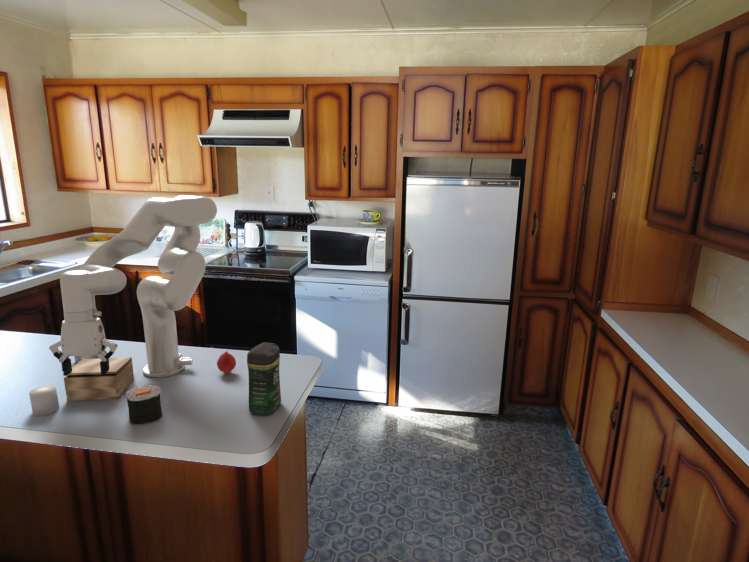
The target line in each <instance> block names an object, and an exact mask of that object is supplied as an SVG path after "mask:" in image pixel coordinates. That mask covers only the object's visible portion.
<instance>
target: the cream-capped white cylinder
mask: <svg viewBox="0 0 749 562" xmlns="http://www.w3.org/2000/svg"><path fill="white" fill-rule="evenodd" d="M28 395H29V399H30V405H31V412H32V415H33V414H34V415H33V416H35V415H37V416H36V417H42V416H41V415H44V416H47V414H49V415H51V414H54V413H55V411H56V412H57V411H58V410H59V409H60V403H59V396H58V391H57V386H56V385H51V384H50V385H49V384H48V385H42V386H39V387H35V388H33V389H31V390H30V391H29V394H28ZM53 412H54V413H53Z"/></svg>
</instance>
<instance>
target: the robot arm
mask: <svg viewBox="0 0 749 562" xmlns="http://www.w3.org/2000/svg"><path fill="white" fill-rule="evenodd" d="M217 213H218V208H217V204H216V202H215V201H214V200H213V199H212V198H210V197H208V196H205V195H204V196H201V195H191V194H190V195H188V194H181V195H177V196H175V197H174V198H169V197H159V196H158V197H157V196H156V197H151V198H149V199H147V200H146V201H145V202H144V203H143V204H142V205H141V206H140V208H139V209H138V210H137V212H136V213H135V215H134V216H133V217H131V219H130V221H129V222H128V223H127V225H126V226H125V227H124V228H123V229H122V231H120V232H119V233H117V234H116V235H115V236H113V237H111V238H110V239H109V240H107V241H105V242H104V243H103V244H101V245H99V247H97V248H96V249H95V250H94V251H93V252H92V253H90V255H89V256H88V258H87V259H86V260H85V262H84V263H83V265H82V266H81V268H80V269H75V270H74V269H73V270H67V271H65V272H62V273H61V274H60V277H59V283H60V293H61V300H62V301H61V302H62V308H63V310H62V311H63V319H64V320H62V322H61V328H60V329H61V331H60V341H59V340H58V341H57V342H55V343H53V344H51V345H50V346H49V347H48V349H49V350H50V351H51V353H52V354H53V357H55V358H56V359H58V362H59V363H61V372H63V373H64V375H63V376H64V377H66V376H67V375H68V374H70V373H71V372H72V367H73V366H72V365H73V364H72V359H71V358H70V357H74V356H95V355H96V356H98V357H97V358H100V359H101V360H102V361H101V362H100V369H101V375H105V374H106V373H107V371H108V370H109V358H112V356H113V355H114V354H115V352H116V351H117V349H118V344H117V343H115V342H113V341H110V340H108V339H107V338H106V333H105V328H104V325H103V321H102V320H101V318H100V317H101V316H102V310H101V311H100V310H97V307H96V298H95V296H98V295H99V296H101V295H102V296H103V295H113V294H117V293H120V292H121V291H122V290H124V288H125V287H126V285H127V277H126V275H125V273H124V272H123V271H122V270H120V269H118V268H115V265H117V264H118V263H119V262H121V261H122V260H124V259H126V258H129V257H131V256H134V255H137V254H140V253H142V252H145V251H147V250H149V248H150V247H151V246H152V244H153V242H154V241H155V240H156V238H158V236H159V235H160V234H161V232H162V230H163V229H164V228H165V227H174V231H173V233H172V235H171V237H170V238H169V239H170V240H169V241H168V242H167V244H166V246H165V247H164V249H163V251H162V252H161V253H160V256H159V259H158V260H157V268H158V270H159V271H160V272H161V274H164V275H165V276H168V277H171V278H168V277H164V276H159V275H150V276H147V277H144V278H143V279H142V280H140V282H139V283H138V284H137V287H136V297H137V301H138V304H139V307H140V310H141V311H140V312H141V315H142V323H143V331H144V332H143V333H144V334H143V335H144V341H145V342H144V343H145V351H146V360H147V361H146V362H147V364H146V365H145V366H144V367H143V368H142V373H143V374H144V375H145V376H146V377H149V378H165V377H170V376H171V377H172V376H174V375H176V374H179V373H180V372H181V371H182V372H183V370H184V369H185V366H192V365H193V359H192V358H191V356H190V357H189V356H186V357H184V356H182V352H179V344H178V342H179V341H178V333H177V321H176V319H177V318H176V314H175V312H176V311H180V310H182V309H184V308H185V307H186V306H187V305H188V304H189V302H190V301H191V299H192V297H193V296H194V294H195V292H196V290H197V288H198V286H199V285H200V282H201V280H202V279H203V276H204V275H205V271H206V267H207V266H206V260H205V257H204V255H203V254H202V253H200V252H198V251H197V249H198V246H199V244H200V241H201V232H200V227H199V225H202V224H203V225H204V224H209V223H210V222H212V221H213V220H214V219H215V218H216V216H217ZM60 347H61V350H59V348H60ZM107 348H109V350H108V352H107V350H106V349H107Z"/></svg>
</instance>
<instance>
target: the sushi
mask: <svg viewBox="0 0 749 562" xmlns="http://www.w3.org/2000/svg"><path fill="white" fill-rule="evenodd" d="M161 392H162V391H161V388H160V386H158V385H156V384H155V385H154V384H151V385H150V384H148V385H143V386H141V387H136V388H134V389H133V388H132V389H131V390H128V391H126V393H125V394H126V395H125V397H126V404H127V410H128V421H129V423H130V424H131V425H137V426H138V425H145V424H150V423H154V422H157V421H159V420H160V419H161V418H162V417H163V410H162V400H161Z"/></svg>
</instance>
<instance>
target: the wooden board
mask: <svg viewBox="0 0 749 562" xmlns="http://www.w3.org/2000/svg"><path fill="white" fill-rule="evenodd" d="M131 359H132V360H133V358H132V357H131V356H130V357H128V356H127V357H110V358H109V370H108V371H107V373H106V374H116V373H117V372H118V371H119V370H120V369H122V368H123V367H124V366H125V365H126V364H127V363H128V362H129V361H130V360H131ZM101 361H102V360H101V359H100V358H99V357H97V358H94V359H83V360H81V361H80V362H76V363H75V364H74V365H73V366H72V372H71V373H70V374H68V375H90V374H101V369H100V362H101ZM62 376H64V372H63V373H62Z"/></svg>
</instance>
